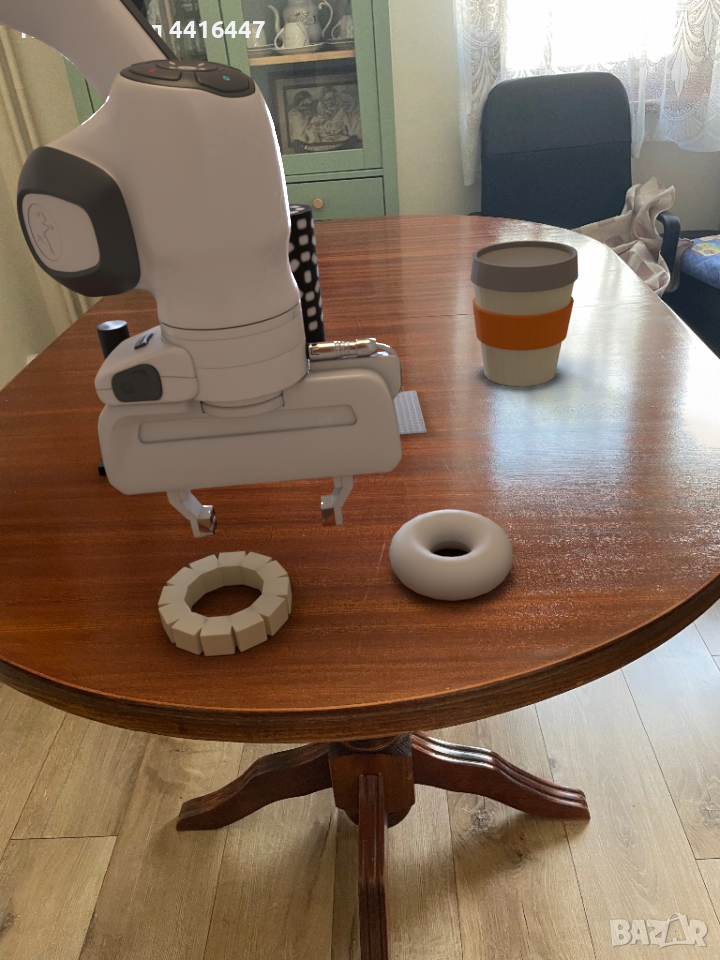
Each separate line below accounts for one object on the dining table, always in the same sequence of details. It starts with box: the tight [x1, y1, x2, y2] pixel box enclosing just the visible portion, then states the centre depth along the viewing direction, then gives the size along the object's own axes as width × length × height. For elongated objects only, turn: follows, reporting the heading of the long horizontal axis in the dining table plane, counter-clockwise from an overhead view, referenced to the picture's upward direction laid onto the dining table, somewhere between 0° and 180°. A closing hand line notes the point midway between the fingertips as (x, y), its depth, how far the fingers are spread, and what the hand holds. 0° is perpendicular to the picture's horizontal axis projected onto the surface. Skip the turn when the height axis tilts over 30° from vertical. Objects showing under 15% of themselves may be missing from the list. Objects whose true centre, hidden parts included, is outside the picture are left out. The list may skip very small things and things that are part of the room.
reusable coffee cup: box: [470, 240, 579, 387], centre depth 89 cm, size 13×13×15 cm
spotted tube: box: [288, 203, 327, 362], centre depth 98 cm, size 8×8×20 cm
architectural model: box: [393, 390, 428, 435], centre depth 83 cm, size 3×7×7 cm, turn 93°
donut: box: [388, 509, 514, 602], centre depth 59 cm, size 10×4×10 cm
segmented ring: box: [157, 550, 293, 657], centre depth 57 cm, size 10×10×2 cm
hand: (269, 527), depth 54 cm, fingers open, 8 cm apart
